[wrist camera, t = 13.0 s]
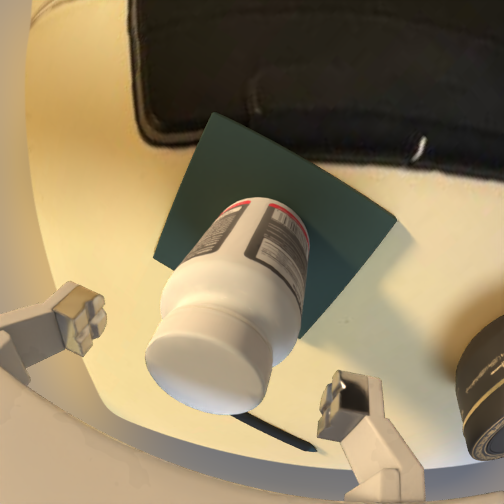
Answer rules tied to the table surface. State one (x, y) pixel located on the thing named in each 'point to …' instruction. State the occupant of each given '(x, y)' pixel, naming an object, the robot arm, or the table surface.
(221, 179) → the desk mat
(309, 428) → the table surface
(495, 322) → the jar
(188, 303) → the pill bottle
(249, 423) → the pen
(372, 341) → the table surface
